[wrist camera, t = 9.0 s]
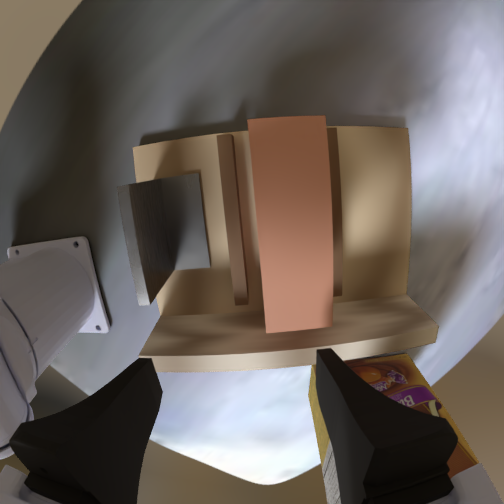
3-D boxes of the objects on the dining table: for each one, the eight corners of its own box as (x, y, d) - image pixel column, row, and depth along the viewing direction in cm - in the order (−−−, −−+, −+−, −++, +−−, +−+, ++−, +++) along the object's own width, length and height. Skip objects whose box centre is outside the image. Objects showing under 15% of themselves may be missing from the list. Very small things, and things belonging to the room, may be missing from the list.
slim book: (262, 276, 20) (266, 333, 13) (250, 135, 17) (247, 119, 11) (308, 272, 20) (332, 326, 13) (299, 132, 17) (325, 115, 11)
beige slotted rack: (167, 323, 22) (143, 371, 17) (138, 147, 19) (95, 144, 13) (399, 302, 22) (435, 342, 16) (401, 129, 18) (449, 121, 12)
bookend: (167, 269, 20) (139, 305, 15) (153, 179, 18) (117, 186, 13) (210, 265, 20) (195, 302, 15) (199, 172, 18) (177, 177, 13)
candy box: (408, 347, 23) (495, 481, 8) (397, 385, 24) (462, 514, 10) (310, 356, 23) (352, 533, 8) (305, 395, 24) (333, 554, 10)
